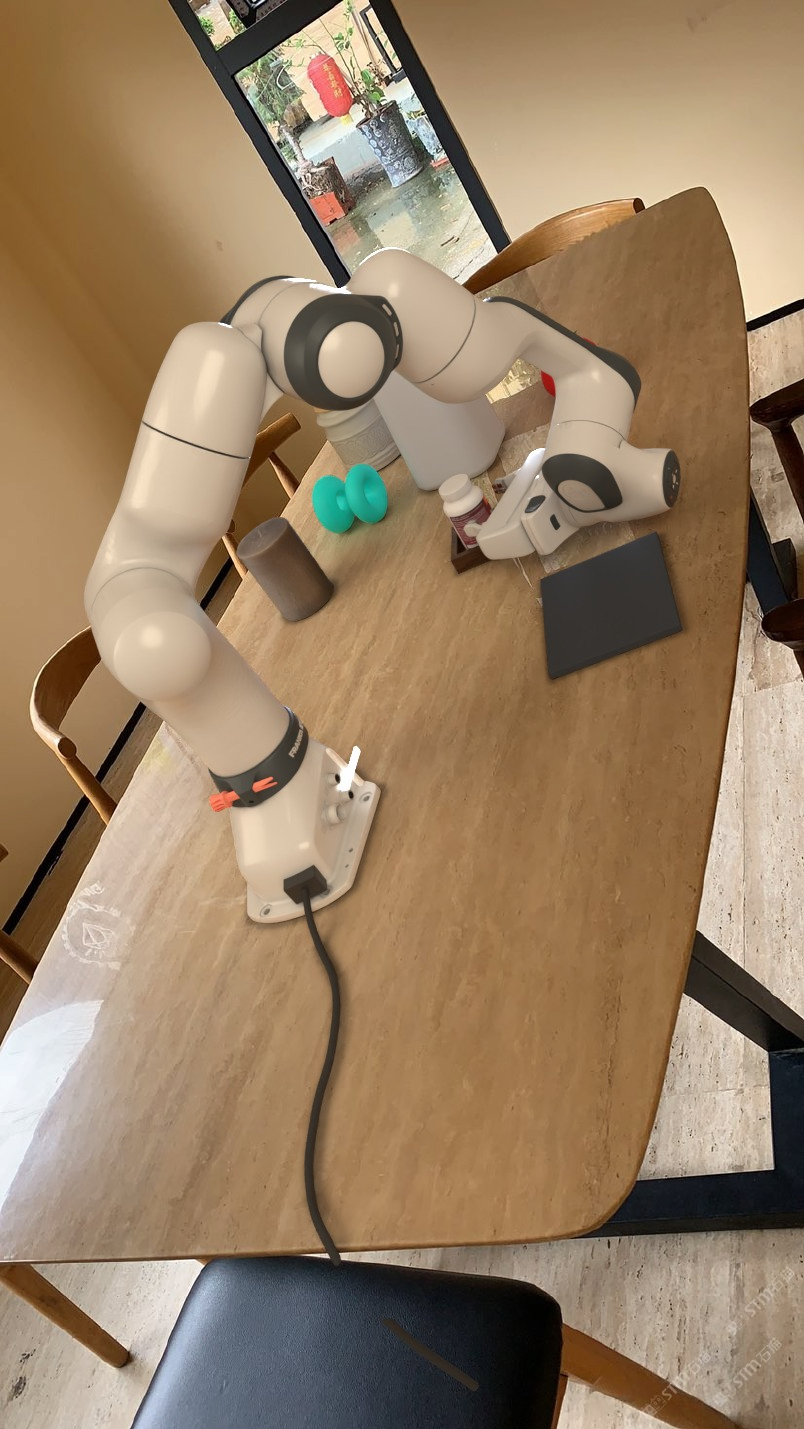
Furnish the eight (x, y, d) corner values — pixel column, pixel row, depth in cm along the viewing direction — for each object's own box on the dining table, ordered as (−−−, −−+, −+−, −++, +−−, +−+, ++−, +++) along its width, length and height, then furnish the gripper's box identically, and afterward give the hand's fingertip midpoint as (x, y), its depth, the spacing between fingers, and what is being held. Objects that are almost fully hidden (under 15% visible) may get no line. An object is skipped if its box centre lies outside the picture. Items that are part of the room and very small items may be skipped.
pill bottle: (514, 534, 151) (480, 473, 145) (483, 561, 150) (448, 501, 144) (490, 526, 156) (457, 467, 150) (460, 552, 155) (426, 494, 149)
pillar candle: (341, 575, 169) (291, 502, 161) (324, 614, 163) (271, 540, 155) (294, 590, 174) (243, 520, 166) (275, 628, 168) (221, 557, 160)
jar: (418, 444, 191) (370, 361, 181) (360, 486, 191) (309, 404, 181) (395, 428, 201) (349, 349, 192) (341, 467, 201) (291, 390, 192)
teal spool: (380, 532, 173) (349, 485, 168) (332, 546, 179) (301, 500, 173) (397, 497, 179) (368, 450, 174) (350, 511, 185) (321, 466, 179)
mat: (683, 630, 117) (680, 624, 117) (551, 679, 123) (548, 674, 122) (658, 536, 132) (656, 530, 132) (543, 584, 138) (540, 579, 138)
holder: (517, 548, 148) (510, 535, 146) (458, 574, 151) (450, 560, 150) (515, 514, 155) (508, 501, 153) (459, 539, 158) (451, 526, 157)
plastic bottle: (414, 499, 175) (327, 355, 160) (437, 449, 185) (357, 308, 169) (492, 475, 167) (409, 321, 152) (513, 424, 177) (436, 273, 161)
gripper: (584, 428, 142) (502, 444, 151) (524, 525, 132) (440, 536, 141) (601, 466, 145) (520, 479, 155) (544, 563, 135) (461, 571, 144)
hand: (481, 507), depth 148 cm, fingers open, 8 cm apart
